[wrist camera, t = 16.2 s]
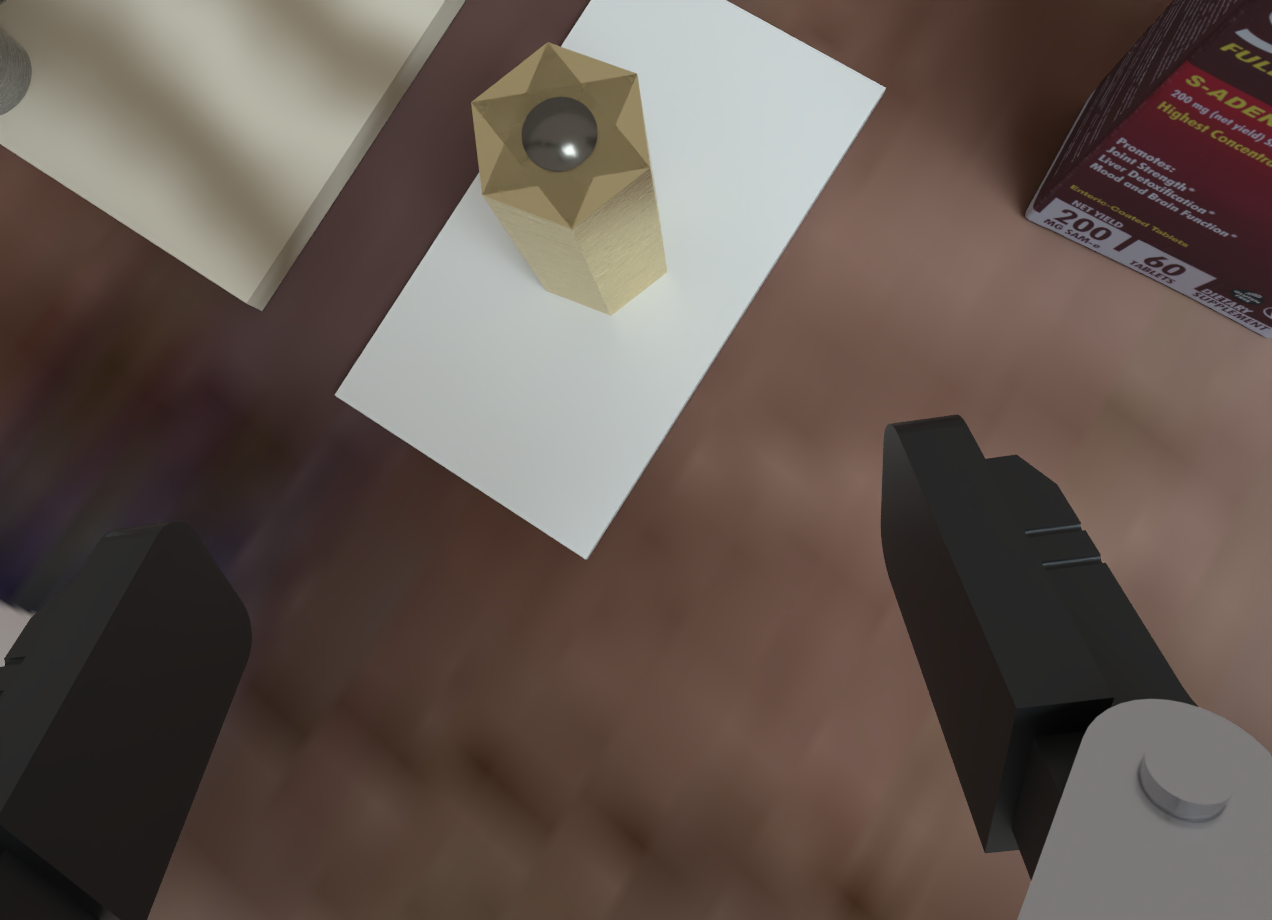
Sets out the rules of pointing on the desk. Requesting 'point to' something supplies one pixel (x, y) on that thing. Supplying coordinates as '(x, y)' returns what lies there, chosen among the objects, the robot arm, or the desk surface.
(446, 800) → the desk surface
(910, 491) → the robot arm
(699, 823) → the desk surface
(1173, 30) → the supplement box
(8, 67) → the posts
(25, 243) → the desk surface
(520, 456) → the off-white mat
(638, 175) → the tan faceted block
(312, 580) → the desk surface
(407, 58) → the board
